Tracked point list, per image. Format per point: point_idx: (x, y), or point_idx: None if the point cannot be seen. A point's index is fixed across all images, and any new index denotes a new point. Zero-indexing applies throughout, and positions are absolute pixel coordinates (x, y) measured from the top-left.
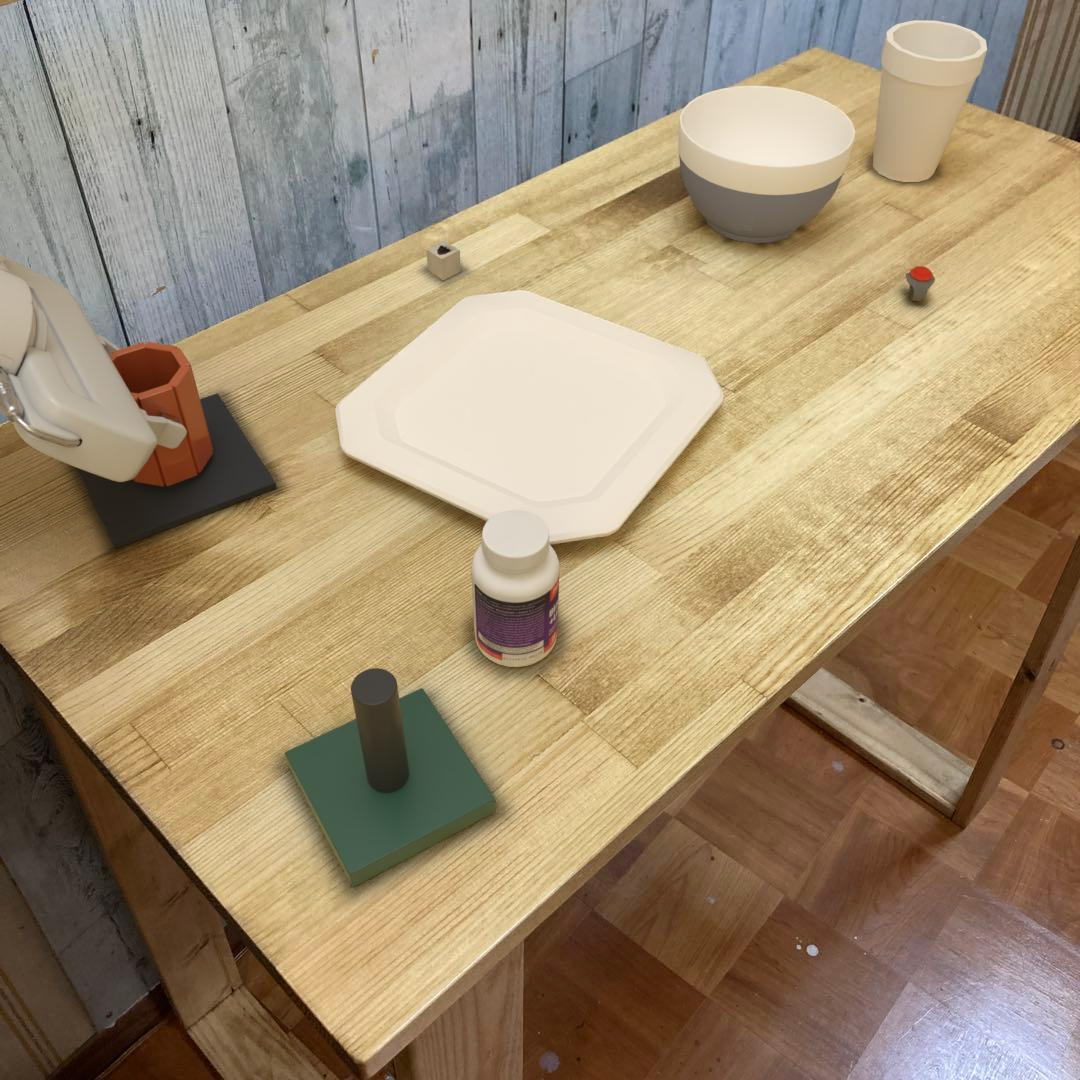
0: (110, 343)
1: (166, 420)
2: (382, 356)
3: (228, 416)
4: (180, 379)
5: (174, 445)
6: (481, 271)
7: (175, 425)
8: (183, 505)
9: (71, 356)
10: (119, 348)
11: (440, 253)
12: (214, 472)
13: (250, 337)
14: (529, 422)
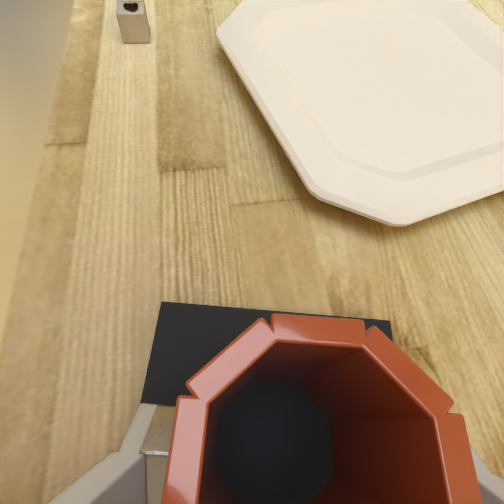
0: (71, 497)
1: (485, 473)
2: (221, 128)
3: (222, 311)
4: (424, 374)
5: None
6: (162, 20)
7: (474, 451)
8: None
9: None
10: (94, 466)
11: (134, 10)
12: None
13: (72, 214)
14: (418, 85)
